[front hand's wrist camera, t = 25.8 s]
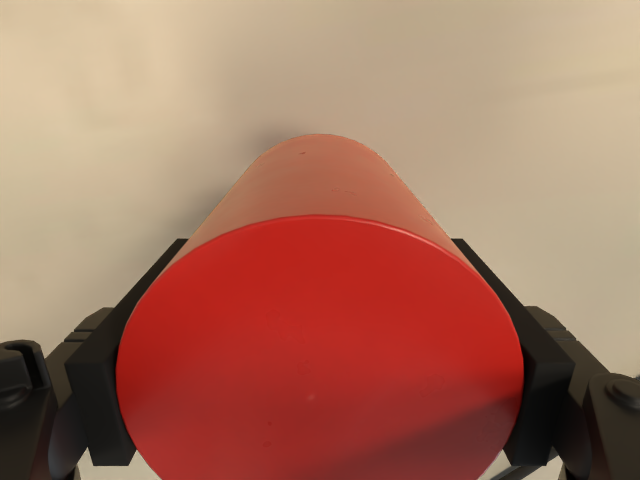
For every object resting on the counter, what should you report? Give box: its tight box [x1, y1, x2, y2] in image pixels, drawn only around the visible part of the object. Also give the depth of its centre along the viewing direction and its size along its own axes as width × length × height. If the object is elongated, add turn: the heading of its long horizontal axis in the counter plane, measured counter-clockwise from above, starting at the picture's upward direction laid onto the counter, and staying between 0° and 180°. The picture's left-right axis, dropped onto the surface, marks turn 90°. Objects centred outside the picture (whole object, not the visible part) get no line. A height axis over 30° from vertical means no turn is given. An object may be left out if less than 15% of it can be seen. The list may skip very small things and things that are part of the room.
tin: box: [116, 134, 524, 480], centre depth 13 cm, size 8×8×11 cm
